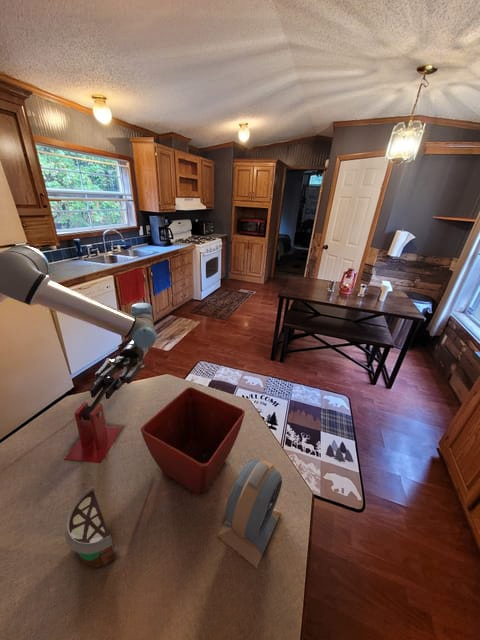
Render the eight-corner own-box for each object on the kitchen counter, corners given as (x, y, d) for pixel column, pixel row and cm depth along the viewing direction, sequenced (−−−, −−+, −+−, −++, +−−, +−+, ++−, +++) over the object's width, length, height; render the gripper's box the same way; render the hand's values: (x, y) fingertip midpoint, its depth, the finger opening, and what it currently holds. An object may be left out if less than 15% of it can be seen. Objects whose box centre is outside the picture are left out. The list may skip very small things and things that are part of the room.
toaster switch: (90, 427, 79) (83, 391, 73) (122, 430, 79) (117, 394, 73) (64, 462, 68) (53, 423, 62) (101, 465, 68) (94, 427, 62)
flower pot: (143, 476, 66) (138, 428, 59) (189, 427, 82) (189, 385, 75) (203, 517, 58) (205, 467, 52) (241, 455, 74) (246, 410, 67)
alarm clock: (254, 573, 50) (265, 519, 43) (214, 540, 54) (218, 486, 47) (282, 509, 61) (294, 458, 54) (247, 486, 66) (254, 436, 59)
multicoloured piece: (67, 533, 53) (57, 504, 49) (99, 513, 57) (92, 484, 53) (81, 596, 45) (71, 566, 41) (117, 567, 49) (111, 538, 45)
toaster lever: (107, 381, 80) (105, 373, 78) (118, 382, 80) (116, 374, 78) (81, 421, 68) (78, 412, 66) (95, 422, 68) (91, 414, 66)
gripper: (156, 363, 96) (129, 407, 74) (113, 359, 96) (73, 402, 74) (155, 346, 93) (126, 386, 71) (110, 342, 93) (68, 381, 71)
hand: (99, 394), depth 73 cm, fingers closed on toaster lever, 4 cm apart
